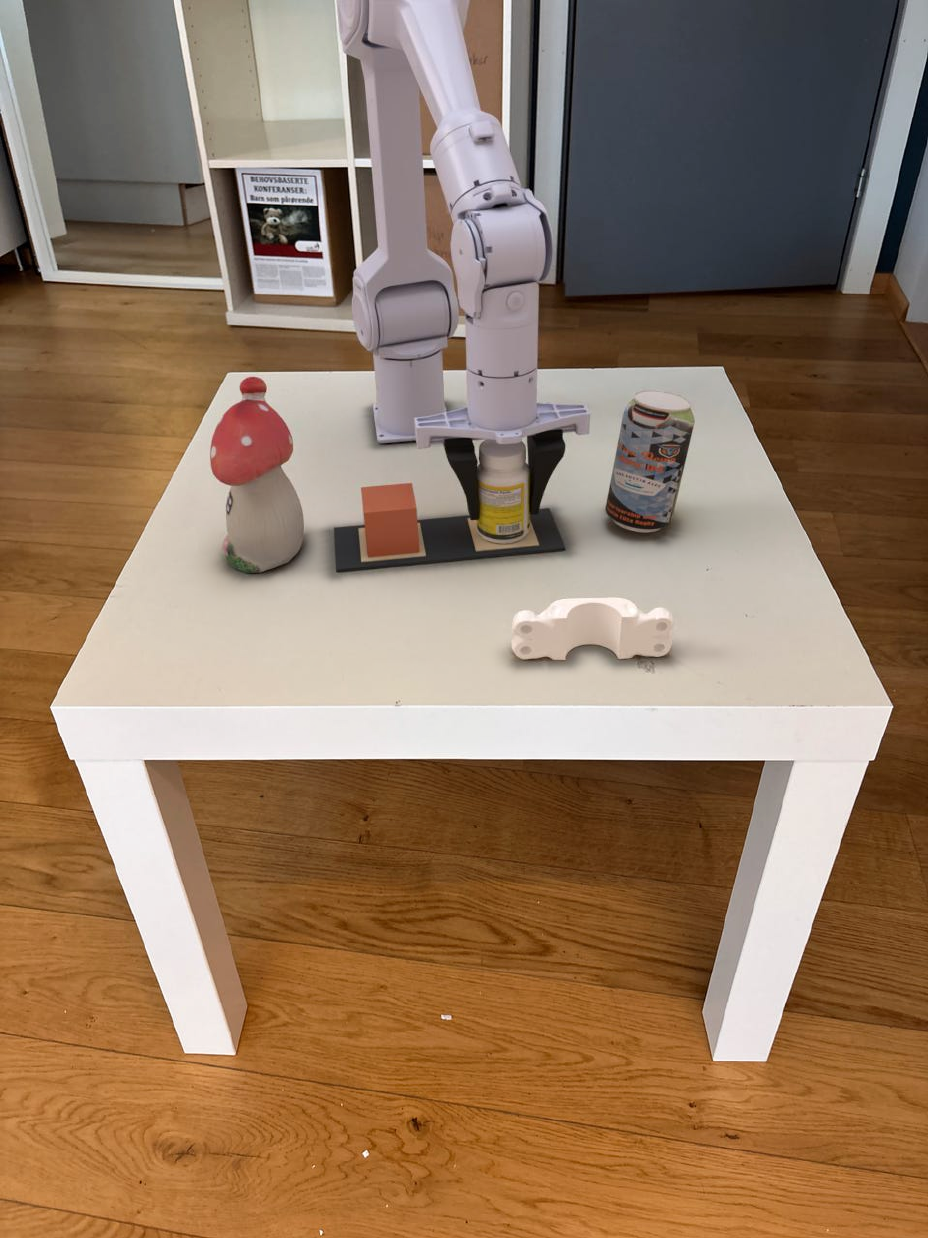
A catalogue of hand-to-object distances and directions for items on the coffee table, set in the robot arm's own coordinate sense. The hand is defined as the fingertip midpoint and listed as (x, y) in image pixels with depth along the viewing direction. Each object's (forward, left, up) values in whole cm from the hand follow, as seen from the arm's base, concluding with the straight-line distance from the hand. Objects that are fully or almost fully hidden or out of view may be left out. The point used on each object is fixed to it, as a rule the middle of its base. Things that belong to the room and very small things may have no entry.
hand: (502, 511), depth 87 cm
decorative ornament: (-1, -21, -3) cm, 21 cm away
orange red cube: (0, -10, -2) cm, 10 cm away
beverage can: (0, +13, -3) cm, 13 cm away
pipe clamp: (+17, +4, -3) cm, 18 cm away
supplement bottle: (0, 0, -2) cm, 2 cm away
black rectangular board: (0, -5, -2) cm, 6 cm away
